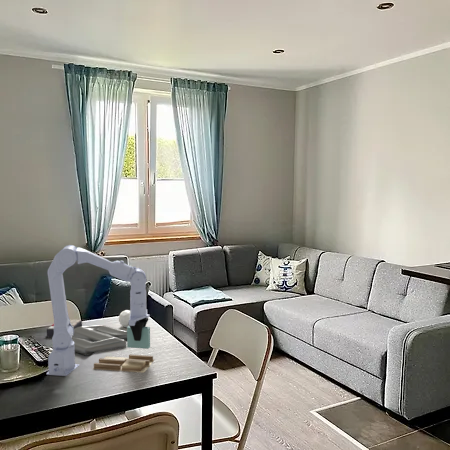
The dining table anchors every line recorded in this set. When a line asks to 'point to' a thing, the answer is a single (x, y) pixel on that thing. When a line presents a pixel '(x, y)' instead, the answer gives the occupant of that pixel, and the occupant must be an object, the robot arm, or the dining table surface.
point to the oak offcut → (133, 364)
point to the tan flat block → (133, 368)
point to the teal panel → (143, 342)
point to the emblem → (98, 339)
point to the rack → (122, 362)
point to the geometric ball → (124, 318)
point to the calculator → (73, 322)
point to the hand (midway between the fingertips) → (138, 339)
